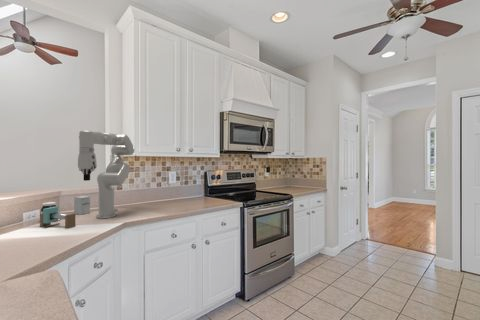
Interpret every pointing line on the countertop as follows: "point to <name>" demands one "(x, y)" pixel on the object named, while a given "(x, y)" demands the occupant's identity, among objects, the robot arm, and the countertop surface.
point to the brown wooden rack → (68, 218)
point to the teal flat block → (47, 214)
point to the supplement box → (82, 205)
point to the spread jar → (48, 205)
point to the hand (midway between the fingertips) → (86, 180)
